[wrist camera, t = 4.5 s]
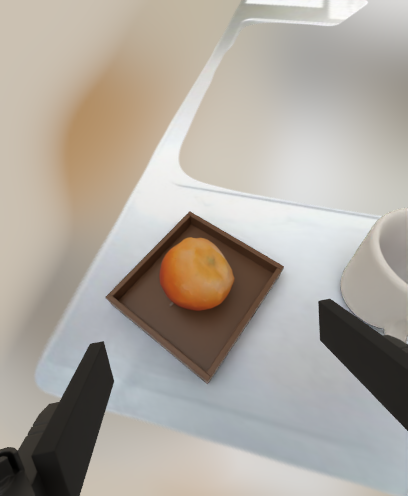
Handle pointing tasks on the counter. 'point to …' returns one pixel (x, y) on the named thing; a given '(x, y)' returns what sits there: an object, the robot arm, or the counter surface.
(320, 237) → the counter surface
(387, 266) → the cup
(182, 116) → the counter surface
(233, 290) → the tray
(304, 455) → the counter surface
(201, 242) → the fruit
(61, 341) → the counter surface
